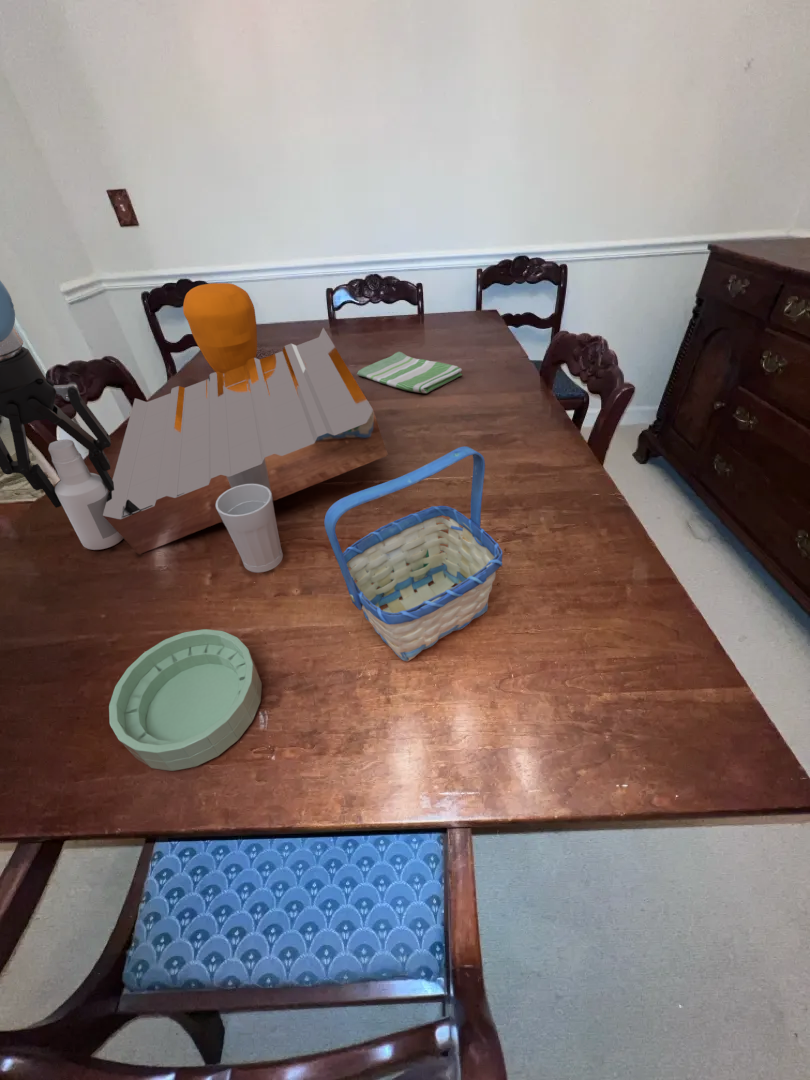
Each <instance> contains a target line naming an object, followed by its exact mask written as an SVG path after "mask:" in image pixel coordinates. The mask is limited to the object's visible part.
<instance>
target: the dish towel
mask: <svg viewBox="0 0 810 1080" xmlns="http://www.w3.org/2000/svg"><path fill="white" fill-rule="evenodd" d="M462 371H463V370H462V368H461V367H459V366H458V365H454V364H450V363H444V362H440V361H434V360H433V361H432V360H428V359H423V358H415V357H412V356H409V355H406V354H405V353H403V352H402V351H396V352H395V353H393V354H392V355H391V356H388V357H387V358H386V357H385V358H383V359H380V360H378V361H376V362H373V363H372V364H368V365H366V366H364V367H362V368H361V369H359V370H358V371H357V373H356V375H357V376H359V377H363V378H366V379H368V380H371V381H374V382H376V383H379V384H382V385H387V386H389V387H392V388H396V389H399V390H403V391H406V392H410V393H411V392H412V393H418V394H419V393H420V394H428V393H430V392H432V391H434V390H435V389H438V388H440V387H442V386H444V385H446V384H448V383H450V382H452V381H453V380H456V379H457V378H459V377H461V376H463V373H461V372H462Z"/></svg>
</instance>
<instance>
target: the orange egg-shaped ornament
mask: <svg viewBox="0 0 810 1080" xmlns="http://www.w3.org/2000/svg"><path fill="white" fill-rule="evenodd" d="M182 311H183V316H184V317H185V319H186V321H187V323H188V326H189V330H190V332H191V334H192V337H193V339H194V341H195V344H196V345H197V347H198V349H199V351H200V352H201V353H202V356H203V358H204V359H205V361H206V363H207V364H208V365H209V366H210V368H211V369H212V370H213V371H214V372H219V373H222V374H223V373H225V372H228V371H231V370H233V369H236V368H239V367H241V366H244V365H246V362H247V360H249V359H251V358H257V354H258V328H257V317H256V310H255V306H254V303H253V301H252V299H251V296H250V295H249V293H248V292H247V291H246V290H245V289H243V288H242V287H240V286H238V285H236V284H234V283H229V282H221V283H220V282H212V283H205V284H199V285H197V286H195V287H192V288H191V289H189V291H188V292H187V293H186V294H185V296H184V299H183V305H182Z"/></svg>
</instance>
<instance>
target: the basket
mask: <svg viewBox="0 0 810 1080" xmlns="http://www.w3.org/2000/svg"><path fill="white" fill-rule="evenodd" d="M470 456H472V460H473V463H472V464H473V465H472V466H473V467H472V479H471V491H470V493H471V494H470V518H468V517H467V516H465V514H463V513H462V512H460V511H458V510H457V509H456V508H453V507H451V506H448V505H437V506H435V505H431V506H430V507H428V508H425V509H422V510H419V511H417V512H413V513H410V514H408V515H405V516H402V517H401V518H398V519H396V520H394V521H391V522H388V523H387V524H385V525H382V526H380V527H379V528H377V529H375V530H373V531H371V532H369V533H368V534H367V535H365V536H363V537H361V538H360V539H358V540H357V541H355V542H353V544H351V545H349V546H348V547H347V548H346V549H345V550H344V551H342V548H341V545H340V542H339V539H338V537H337V534H336V526H337V523H338V521H339V520H340V519H341V518H342V516H343V515H344V514H345V513H347V512H349V511H350V510H352V509H354V508H356V507H358V506H361V505H363V504H366V503H368V502H371V501H375V500H377V499H380V498H382V497H385V496H387V495H390V494H393V493H395V492H398V491H401V490H404V489H406V488H408V487H412V486H414V485H415V484H418V483H420V482H421V481H423V480H427V479H428V478H430V477H432V476H433V475H435V474H438V473H439V472H441V471H443V470H445V469H446V468H449V467H450V466H452V465H454V464H456V463H458V462H460V461H461V460H462V461H463V459H466V458H467V457H470ZM485 472H486V461H485V457H484V455H483V454H482V453H481V452H479V451H477V450H475V449H473V448H471V446H466V445H465V446H460V447H457V448H454V449H453V450H451V451H450V452H448V453H446V454H444V455H442V456H440V457H439V458H436V459H434V460H432V461H430V462H429V463H427V464H425V465H423V466H421V467H419V468H417V469H415V470H412V471H410V472H408V473H406V474H404V475H401V476H399V477H395V478H393V479H390V480H388V481H386V482H383V483H380V484H377V485H374V486H371V487H367V488H365V489H362V490H359V491H356V492H354V493H351V494H349V495H346V496H344V497H341V498H339V500H337V501H335V502H334V503H333V504H332V505H331V506H330V507H329V508H328V510H327V511H326V513H325V517H324V521H323V523H324V529H325V533H326V535H327V538H328V541H329V543H330V546H331V549H332V552H333V554H334V557H335V559H336V562H337V564H338V566H339V569H340V572H341V575H342V577H343V580H344V582H345V585H346V589H347V591H348V595H349V597H350V600H351V602H352V604H353V605H354V606H355V607H356V608H357V610H358V611H363V616H364V618H365V619H366V621H367V622H368V623H370V624H371V626H372V627H373V629H374V632H375V633H376V634H377V635H378V636H379V637H380V638H381V640H382V641H383V643H384V644H386V645H387V646H388V647H389V648H390V649H391V651H393V653H394V654H395V655H396V656H397V657H398V658H399V659H400V660H401V661H404V662H409V661H411V660H412V659H414V658H416V656H417V655H419V654H420V653H421V652H422V651H423V650H424V651H425V650H427V649H430V648H432V647H433V646H434V645H435V644H437V642H438V641H439V640H440V639H442V638H445V637H446V636H447V635H450V634H452V633H453V632H455V631H460V630H463V629H464V628H465V627H467V626H468V625H469V624H471V622H472V621H473V620H474V619H477V618H479V617H481V616H482V615H484V614H485V613H487V612H488V610H489V597H490V596H489V595H490V593H491V592H492V590H493V583H494V581H495V580H496V576H497V574H496V571H498V570H499V568H500V567H502V566H503V550H502V548H501V546H500V545H499V543H498V542H497V541H496V540H495V539H494V538H493V537H492V536H491V535H490V534H489V533H488V532H487V531H485V529H484V528H481V519H482V518H481V515H482V514H481V513H482V501H483V492H484V482H485ZM445 517H446V518H445ZM447 517H448V518H449V519H447ZM438 523H439V524H438ZM446 530H447V532H446ZM407 564H408V565H407ZM355 581H356V582H355ZM431 582H433V583H432V584H430V585H429V583H431ZM455 584H456V585H455ZM454 585H455V586H454ZM415 590H416V592H415ZM400 598H401V599H400ZM385 605H387V607H385V608H383V609H382V608H381V607H382V606H385Z"/></svg>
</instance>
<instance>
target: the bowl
mask: <svg viewBox="0 0 810 1080" xmlns="http://www.w3.org/2000/svg"><path fill="white" fill-rule="evenodd" d="M262 688H263V684H262V680H261V677H260V674H259V671H258V668H257V666H256V663H255V661H254V659H253V657H252V654H251V652H250V650H249V648H248V647H247V645H245V643H243V641H241V640H240V638H239V637H237V636H235V635H233V634H231V633H228V632H226V631H224V630H217V629H209V628H208V629H207V628H202V629H196V630H190V631H185V632H181V633H179V634H176V635H173V636H170V637H168V638H165V639H163V640H162V641H160V642H158V643H157V644H155V645H154V646H152V647H150V648H149V649H146V651H144V652H143V653H142V654H141V655H140V656H139V657H138V658H136V660H134V662H132V663H131V664H130V665H129V666H128V667H127V668H126V670H125V671H124V673H123V674H122V675H121V677H120V678H119V680H118V682H117V683H116V684H115V686H114V689H113V692H112V694H111V698H110V701H109V704H108V716H109V726H110V728H111V729H112V731H113V733H114V734H115V737H116V738H117V740H118V741H119V742H120V743H121V744H122V745H123V746H124V747H125V748H126V749H127V751H128V752H129V753H130V754H131V755H132V756H133V757H134V758H135V759H136V760H138V761H139V762H140V763H142V764H144V765H146V766H147V767H149V768H151V769H155V770H163V771H170V772H175V771H181V770H185V769H190V768H195V767H198V766H201V765H202V764H205V763H207V762H209V761H211V760H213V759H216V758H218V757H219V756H221V754H223V753H224V752H225V751H227V750H228V749H229V748H230V747H231V746H232V745H234V744H235V743H236V742H238V741H239V740H240V738H241V737H242V736H243V734H244V733H245V732H246V731H247V730H248V728H249V726H250V725H251V724H252V723H253V721H254V719H255V717H256V714H257V711H258V709H259V707H260V704H261V701H262Z"/></svg>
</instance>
